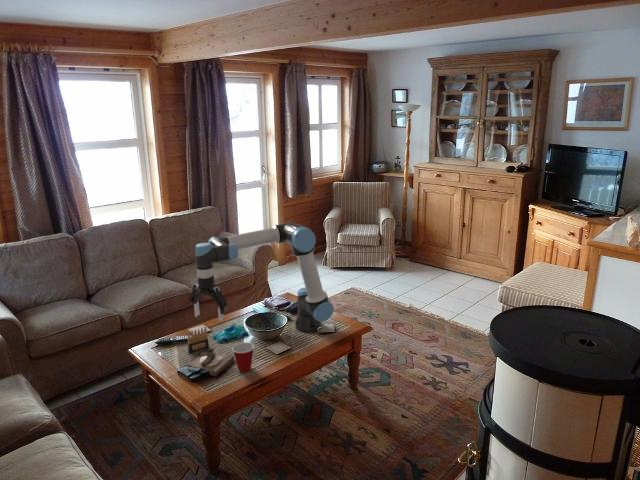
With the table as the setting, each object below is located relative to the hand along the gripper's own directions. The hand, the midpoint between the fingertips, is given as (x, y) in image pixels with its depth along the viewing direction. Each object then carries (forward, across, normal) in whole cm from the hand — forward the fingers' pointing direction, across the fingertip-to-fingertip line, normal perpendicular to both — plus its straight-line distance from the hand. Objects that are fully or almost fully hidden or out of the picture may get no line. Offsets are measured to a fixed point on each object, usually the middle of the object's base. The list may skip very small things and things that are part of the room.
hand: (209, 317), depth 230 cm
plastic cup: (+25, -17, -1) cm, 30 cm away
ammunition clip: (+25, +15, -9) cm, 30 cm away
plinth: (+24, 0, +1) cm, 25 cm away
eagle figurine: (+22, 0, +3) cm, 22 cm away
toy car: (+25, +8, -28) cm, 38 cm away
